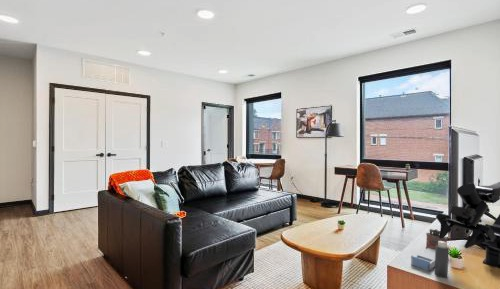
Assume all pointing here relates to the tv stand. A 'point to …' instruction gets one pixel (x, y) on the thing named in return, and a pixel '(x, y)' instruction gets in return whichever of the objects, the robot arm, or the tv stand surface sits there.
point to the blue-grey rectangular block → (424, 259)
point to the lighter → (434, 239)
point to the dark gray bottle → (441, 259)
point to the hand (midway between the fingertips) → (452, 242)
